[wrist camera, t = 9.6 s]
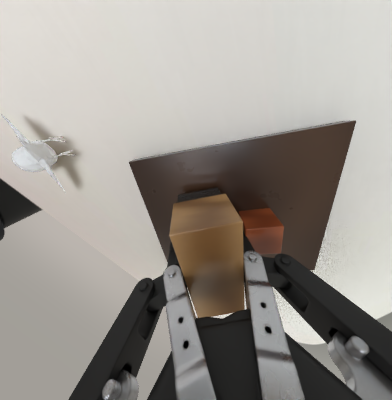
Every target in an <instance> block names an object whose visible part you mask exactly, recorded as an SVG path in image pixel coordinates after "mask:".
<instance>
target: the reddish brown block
mask: <svg viewBox="0 0 392 400" xmlns="http://www.w3.org/2000/svg"><path fill="white" fill-rule="evenodd" d="M239 216H240V218H241V219H242V221H243V231H244V234H245V236H247V238H248V239H249V241H250V243H251V245H252V246H253V248H254V250H255V251H256V252H257V253H259V254H260V255H261V254H278V253H281V249H282V240H283V231H284V226H283V224H282V223H281V222H280V221H279V219H278V218H277V217H276V215H275V214H274V213H273V212H272V210H271V209H270V208H264V209H254V210H245V211H239Z"/></svg>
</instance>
